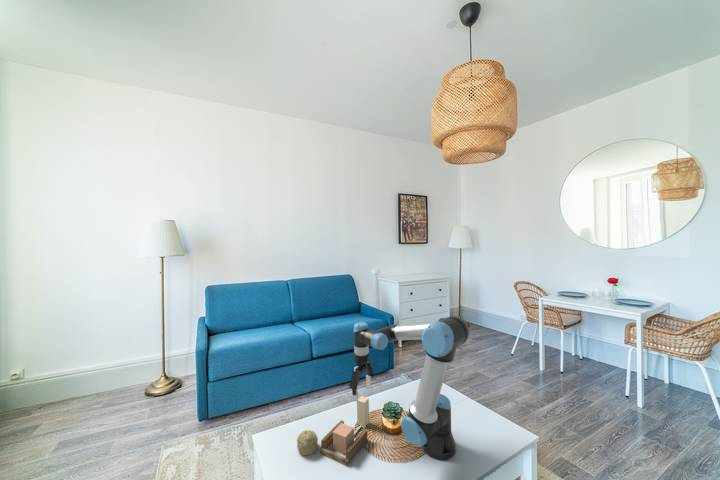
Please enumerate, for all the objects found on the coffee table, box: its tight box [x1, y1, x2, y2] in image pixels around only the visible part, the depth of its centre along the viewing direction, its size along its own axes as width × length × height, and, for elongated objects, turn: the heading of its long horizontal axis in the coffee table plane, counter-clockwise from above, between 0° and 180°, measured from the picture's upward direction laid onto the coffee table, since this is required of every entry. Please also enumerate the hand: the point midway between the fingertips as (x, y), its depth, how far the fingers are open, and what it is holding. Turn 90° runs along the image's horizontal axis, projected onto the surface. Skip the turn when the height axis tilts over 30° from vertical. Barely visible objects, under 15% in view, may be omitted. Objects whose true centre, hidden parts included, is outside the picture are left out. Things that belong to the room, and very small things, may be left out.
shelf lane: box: [319, 419, 368, 467], centre depth 129 cm, size 15×17×5 cm
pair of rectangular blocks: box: [332, 395, 370, 456], centre depth 136 cm, size 7×24×13 cm, turn 149°
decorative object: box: [296, 429, 319, 457], centre depth 128 cm, size 9×10×10 cm
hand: (362, 393), depth 144 cm, fingers open, 13 cm apart
